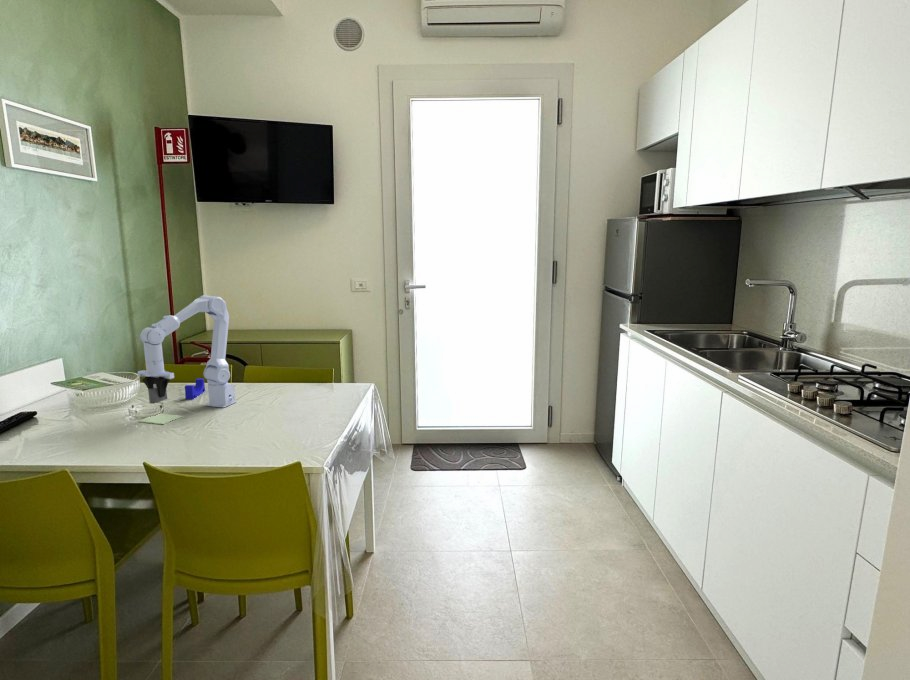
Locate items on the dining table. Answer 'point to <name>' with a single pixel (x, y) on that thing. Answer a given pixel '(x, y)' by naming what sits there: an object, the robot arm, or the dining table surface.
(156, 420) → the sage mat
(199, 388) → the blue u-shaped block
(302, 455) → the dining table surface
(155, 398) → the dark grey block
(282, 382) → the dining table surface
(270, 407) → the dining table surface
